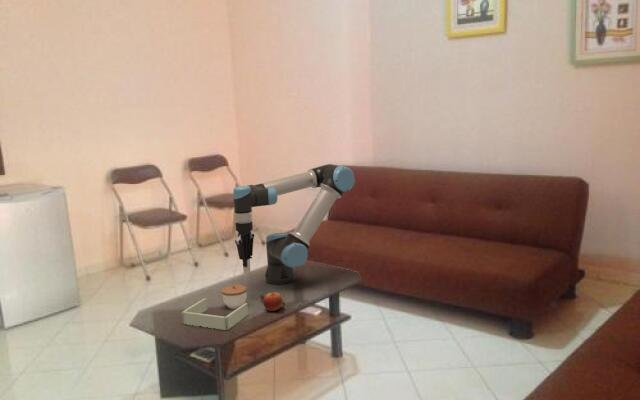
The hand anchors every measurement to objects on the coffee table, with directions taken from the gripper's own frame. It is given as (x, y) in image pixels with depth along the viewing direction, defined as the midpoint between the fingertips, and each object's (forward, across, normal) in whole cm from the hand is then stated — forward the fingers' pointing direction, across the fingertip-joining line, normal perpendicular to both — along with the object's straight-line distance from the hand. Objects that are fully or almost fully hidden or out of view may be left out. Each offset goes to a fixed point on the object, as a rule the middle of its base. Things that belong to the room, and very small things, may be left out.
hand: (247, 273), depth 238 cm
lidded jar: (+11, +12, 0) cm, 16 cm away
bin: (+11, +27, 0) cm, 29 cm away
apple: (+11, +11, +18) cm, 24 cm away
